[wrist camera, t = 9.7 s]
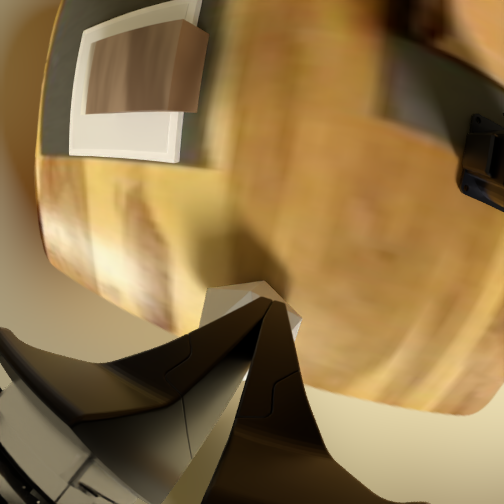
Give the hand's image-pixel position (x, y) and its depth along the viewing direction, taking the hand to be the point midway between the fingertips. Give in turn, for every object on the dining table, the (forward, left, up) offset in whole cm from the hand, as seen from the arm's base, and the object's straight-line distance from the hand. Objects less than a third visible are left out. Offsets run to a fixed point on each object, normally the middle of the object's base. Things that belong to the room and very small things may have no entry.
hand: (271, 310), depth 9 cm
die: (+3, +10, -13) cm, 17 cm away
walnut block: (+10, -10, -10) cm, 17 cm away
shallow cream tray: (+20, -10, -13) cm, 26 cm away
